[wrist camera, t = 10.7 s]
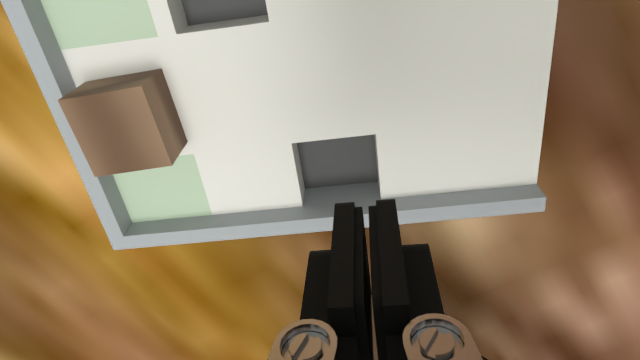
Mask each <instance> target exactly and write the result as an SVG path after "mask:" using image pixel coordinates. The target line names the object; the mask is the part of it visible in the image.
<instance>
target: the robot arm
mask: <svg viewBox="0 0 640 360" xmlns="http://www.w3.org/2000/svg"><path fill="white" fill-rule="evenodd" d="M368 211H369V235H370V259H371V283H372V303H371V284H370V274H369V264H368V255H367V245H366V236H365V227H364V217H363V208H362V207H355V203H354V202H347V203H335V206H334V219H333V232H332V246H331V250H321V251H311V252H310V254H309V259H308V266H307V273H306V281H305V288H304V295H303V302H302V309H301V316H300V320H299V321H295V322H293V323H291V324H289V325H287V326H286V327H284V328H283V329H282V330H281V331H280V332H279V333H278V335H277V337H276V338H275V340H274V342H273V345H272V348H271V350H270V353H269V356H268V358H267V360H374V354H373V328H372V304H373V316H374V325H375V335H376V344H377V353H378V360H488V359H486V358H484V357H483V356H481V355H480V352H479V350H478V348H477V346H476V344H475V342H474V340H473V338H472V336H471V334H470V332H469V331H468V329H467V328H466V326H465V325H464V324H462V323H461V322H460V321H458V320H457V319H455V318H453V317H450V316H448V315H444V312H443V307H442V303H441V298H440V294H439V289H438V285H437V280H436V276H435V271H434V267H433V262H432V258H431V253H430V249H429V245H428V244H415V245H402V244H401V237H400V230H399V223H398V216H397V208H396V201H395V199H386V200H376V205H375V206H368Z"/></svg>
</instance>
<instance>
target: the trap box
mask: <svg viewBox="0 0 640 360" xmlns="http://www.w3.org/2000/svg"><path fill="white" fill-rule="evenodd" d="M0 1H1V3H2V5H3V7H4V10H5V12H6V14H7V16H8V18H9V21H10V23H11V25H12V27H13V29H14V32H15V34H16V36H17V38H18V40H19V43H20V45H21V47H22V49H23V51H24V54H25V56H26V58H27V60H28V62H29V65H30V67H31V69H32V71H33V73H34V75H35V78H36V80H37V82H38V84H39V86H40V89H41V91H42V93H43V95H44V97H45V100H46V102H47V104H48V106H49V108H50V111H51V113H52V115H53V117H54V119H55V122H56V124H57V126H58V128H59V130H60V133H61V135H62V137H63V139H64V141H65V144H66V146H67V148H68V150H69V152H70V155H71V157H72V159H73V161H74V163H75V166H76V168H77V170H78V172H79V174H80V177H81V179H82V181H83V183H84V185H85V188H86V190H87V192H88V194H89V196H90V199H91V201H92V203H93V205H94V207H95V210H96V212H97V214H98V216H99V218H100V221H101V223H102V225H103V227H104V229H105V232H106V234H107V236H108V238H109V240H110V243H111V245H112V247H113V249H114V250H120V249H131V248H142V247H154V246H165V245H176V244H187V243H198V242H209V241H220V240H232V239H243V238H254V237H265V236H276V235H287V234H298V233H309V232H321V231H332V230H333V219H334V206H335V203H347V202H354V203H355V207H362V208H363V217H364V227H369V211H368V206H375V205H376V200H386V199H395V201H396V208H397V216H398V223H399V224H410V223H421V222H432V221H443V220H454V219H465V218H476V217H488V216H499V215H510V214H521V213H532V212H543V211H545V204H546V196H545V195H544V193H543V192H542V191H541V189H540V188H539V187H538V185H537V177H538V168H539V160H540V152H541V143H542V135H543V126H544V118H545V110H546V101H547V93H548V85H549V76H550V68H551V59H552V51H553V43H554V34H555V26H556V17H557V9H558V1H559V0H0ZM161 68H162V70H163V73H164V76H165V79H166V82H167V85H168V87H169V90H170V93H171V96H172V99H173V101H174V104H175V107H176V110H177V113H178V116H179V118H180V121H181V124H182V127H183V130H184V133H185V135H186V138H187V141H188V142H187V144H186V145H185V147H184V148H183V150H182V151H181V153H180V154H179V156H178V158H177V159H176V161H175V162H174V164H173V165H172V166H167V167H160V168H153V169H146V170H140V171H133V172H126V173H119V174H113V175H106V176H99V177H95V176H94V174H93V172H92V170H91V168H90V166H89V164H88V162H87V160H86V158H85V156H84V154H83V152H82V150H81V148H80V146H79V144H78V141H77V139H76V137H75V135H74V133H73V131H72V129H71V127H70V125H69V123H68V121H67V119H66V117H65V115H64V113H63V111H62V109H61V107H60V104H59V102H58V100H59V99H60V98H62V97H63V96H65V95H66V94H68V93H69V92H71V91H72V90H74V89H75V88H77V87H78V86H80V85H81V84H83V83H84V82H86V81H92V80H98V79H104V78H109V77H115V76H121V75H127V74H132V73H138V72H144V71H150V70H155V69H161Z"/></svg>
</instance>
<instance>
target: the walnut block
mask: <svg viewBox="0 0 640 360" xmlns="http://www.w3.org/2000/svg"><path fill="white" fill-rule="evenodd" d="M58 102H59V104H60V107H61V109H62V111H63V113H64V115H65V117H66V119H67V121H68V123H69V125H70V127H71V129H72V131H73V133H74V135H75V137H76V139H77V141H78V144H79V146H80V148H81V150H82V152H83V154H84V156H85V158H86V160H87V162H88V164H89V166H90V168H91V170H92V172H93V174H94V176H95V177H99V176H106V175H113V174H119V173H126V172H133V171H140V170H146V169H153V168H160V167H167V166H172V165H173V164H174V162H175V161H176V159H177V158H178V156H179V154H180V153H181V151H182V150H183V148H184V147H185V145H186V144H187V142H188V141H187V138H186V135H185V133H184V130H183V127H182V124H181V121H180V118H179V116H178V113H177V110H176V107H175V104H174V101H173V99H172V96H171V93H170V90H169V87H168V85H167V82H166V79H165V76H164V73H163V70H162V68H161V69H155V70H150V71H144V72H138V73H132V74H127V75H121V76H115V77H109V78H104V79H98V80H92V81H86V82H84V83H83V84H81V85H80V86H78V87H77V88H75V89H74V90H72V91H71V92H69V93H68V94H66V95H65V96H63V97H62V98H60V99H59V100H58Z"/></svg>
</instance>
